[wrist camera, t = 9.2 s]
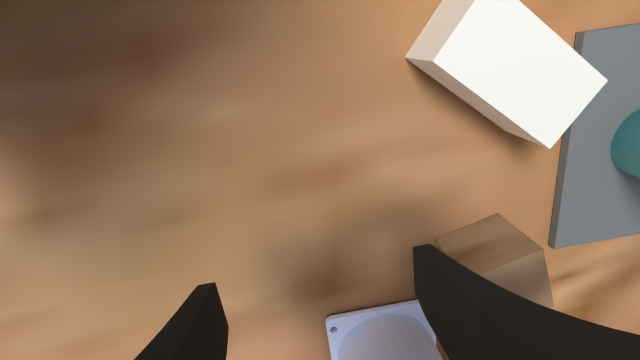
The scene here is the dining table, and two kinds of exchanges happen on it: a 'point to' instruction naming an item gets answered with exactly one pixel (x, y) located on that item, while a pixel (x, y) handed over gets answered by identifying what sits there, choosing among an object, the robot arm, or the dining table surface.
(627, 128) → the teal capsule
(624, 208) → the mat
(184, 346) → the robot arm
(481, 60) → the offwhite brick
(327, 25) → the dining table surface
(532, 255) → the walnut cube
